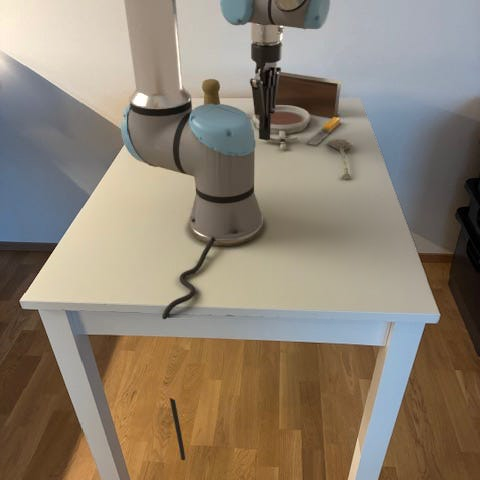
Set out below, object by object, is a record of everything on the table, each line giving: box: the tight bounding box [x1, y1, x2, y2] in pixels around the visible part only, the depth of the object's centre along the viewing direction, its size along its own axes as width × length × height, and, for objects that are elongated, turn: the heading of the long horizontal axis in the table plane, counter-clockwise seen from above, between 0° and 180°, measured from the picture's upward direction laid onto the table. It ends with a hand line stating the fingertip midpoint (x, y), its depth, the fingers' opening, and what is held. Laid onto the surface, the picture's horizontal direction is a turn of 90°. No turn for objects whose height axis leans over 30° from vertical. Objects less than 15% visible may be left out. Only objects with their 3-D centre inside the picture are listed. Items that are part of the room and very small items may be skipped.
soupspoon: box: [326, 137, 353, 180], centre depth 124 cm, size 22×3×7 cm
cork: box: [201, 78, 221, 105], centre depth 144 cm, size 6×6×11 cm
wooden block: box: [276, 71, 342, 119], centre depth 148 cm, size 3×20×10 cm, turn 60°
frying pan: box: [252, 105, 312, 151], centre depth 139 cm, size 17×3×28 cm
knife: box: [308, 116, 341, 147], centre depth 137 cm, size 18×2×2 cm, turn 151°
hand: (264, 138), depth 132 cm, fingers closed
